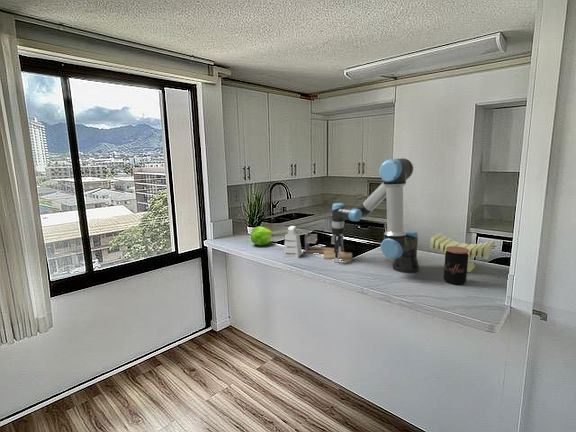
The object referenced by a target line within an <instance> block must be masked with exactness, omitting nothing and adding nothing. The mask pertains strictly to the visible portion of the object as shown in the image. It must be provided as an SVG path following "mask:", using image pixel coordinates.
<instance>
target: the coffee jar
mask: <svg viewBox="0 0 576 432" xmlns="http://www.w3.org/2000/svg"><path fill="white" fill-rule="evenodd" d="M468 252H469V250H468V249H466V248H463V247H458V246H449V247H446V253H445V256H444V267H443V279H444V282H446V283H447V284H450V285H454V286H463V285H465V283H467V277H468V276H467V275H468V274H467V273H468V272H467V266H468V254H467V253H468Z"/></svg>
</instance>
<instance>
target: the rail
mask: <svg viewBox="0 0 576 432" xmlns="http://www.w3.org/2000/svg"><path fill="white" fill-rule="evenodd" d="M323 259H324V260H332V259H334V253H333V251H329V250H325V251H324V254H323ZM339 259H342V260H344V261H343V262H350V261H351V262H352V261H353V252H351V251H350V252H348V251H344V252H340V251H339Z"/></svg>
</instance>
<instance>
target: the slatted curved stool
mask: <svg viewBox="0 0 576 432" xmlns="http://www.w3.org/2000/svg"><path fill="white" fill-rule="evenodd" d="M495 241H496V240H495V239H494V240H491V241H490V242H489V241H487V242H484V243H483V242H481V243H473V244H472V243H470V244H469V243H464V242H459V241H457V240H453V239H452V238H450V237H448V236H446V235H443V233H442V232H440V231H439V232H438V233H436V234H434V235H433V236H431V238H430V241H429V250H437V251H438V250H439V252H441V253H442V254H443V253H444V257H445V253H446V247H449V246H458V247H463V248H466V249H468V250H469V252H468V253H467V254H468V266H467V273H471V271H473V270H474V269H475V268H476V266H475V262H474V263H473V262H470V261H471V260H472V258H476V257H477V258H482V259H484V260H489V258H490V254H491V251H492V248H493V247H494V246H495V244H496V243H495Z"/></svg>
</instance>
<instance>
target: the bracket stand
mask: <svg viewBox="0 0 576 432" xmlns="http://www.w3.org/2000/svg"><path fill="white" fill-rule="evenodd" d="M335 235H336V234H332V237H330V240H331V241H330V243H331V245H335V239H334V237H335ZM340 236H341V244H342V246H341V252H345V248H344V233H343V234H340ZM317 241H318V234H317V233H310V232H309V231H306V232H305V233H304V249H303V254H307V255H308V254H309V255H310V254H311V255H314V254H313V253H319V254H318V255H324V251H325V250H329V251H334V247H322V246H321V247H320V246H310V244H317Z"/></svg>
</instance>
